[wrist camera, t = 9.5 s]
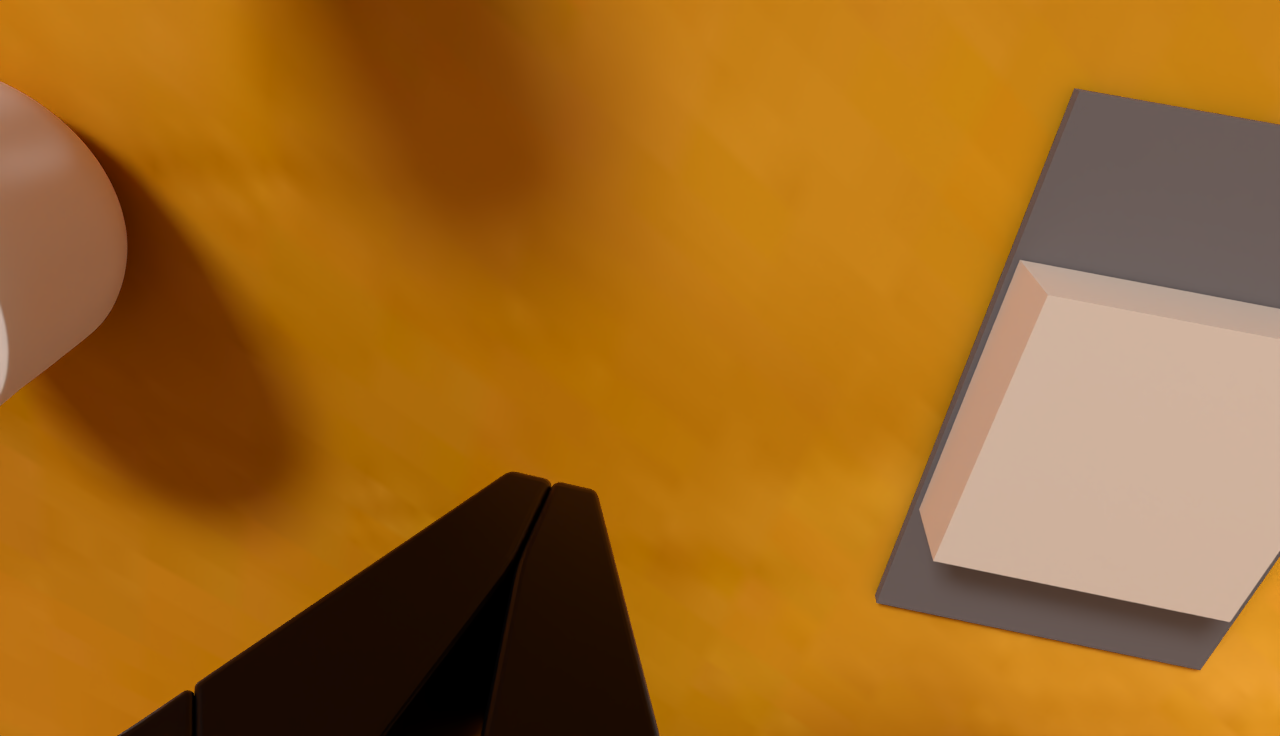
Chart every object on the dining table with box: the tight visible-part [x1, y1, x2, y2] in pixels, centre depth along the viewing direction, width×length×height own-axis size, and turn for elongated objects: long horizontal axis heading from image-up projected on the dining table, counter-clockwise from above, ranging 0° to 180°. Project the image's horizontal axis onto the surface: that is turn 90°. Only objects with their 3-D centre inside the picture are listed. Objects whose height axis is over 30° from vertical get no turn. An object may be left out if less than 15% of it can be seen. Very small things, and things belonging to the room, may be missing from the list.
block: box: [919, 260, 1280, 622], centre depth 18 cm, size 7×2×7 cm
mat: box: [875, 89, 1280, 670], centre depth 19 cm, size 14×9×1 cm, turn 171°
